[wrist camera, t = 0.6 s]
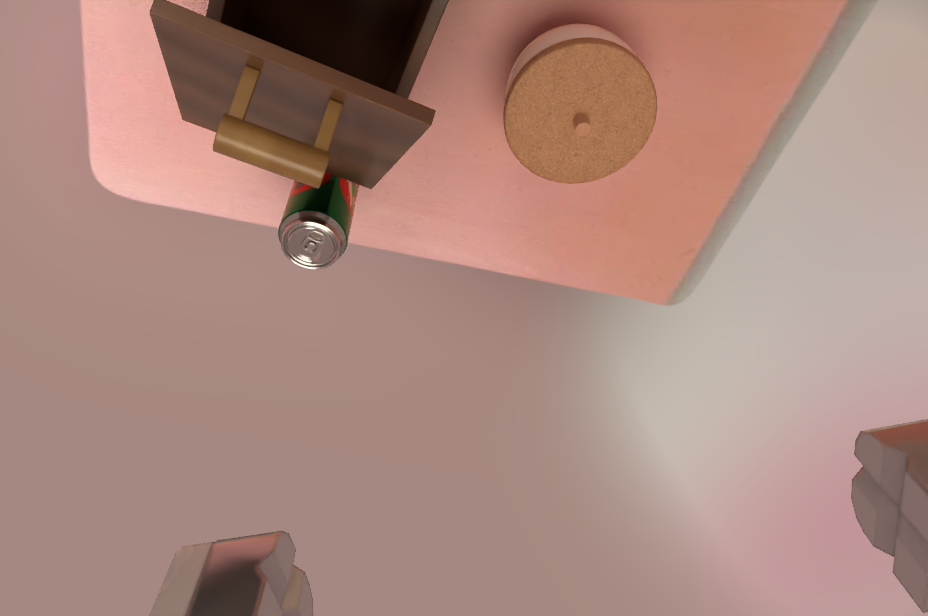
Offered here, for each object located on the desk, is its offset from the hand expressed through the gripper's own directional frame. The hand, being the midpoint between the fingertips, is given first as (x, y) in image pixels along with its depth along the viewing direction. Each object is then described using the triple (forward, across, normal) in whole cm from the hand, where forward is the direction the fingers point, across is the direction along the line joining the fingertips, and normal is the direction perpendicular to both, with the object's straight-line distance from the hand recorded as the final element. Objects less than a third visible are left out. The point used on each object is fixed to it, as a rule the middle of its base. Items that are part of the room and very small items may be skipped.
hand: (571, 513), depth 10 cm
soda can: (+53, +12, +7) cm, 55 cm away
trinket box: (+50, -8, +3) cm, 51 cm away
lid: (+33, +10, -1) cm, 35 cm away
